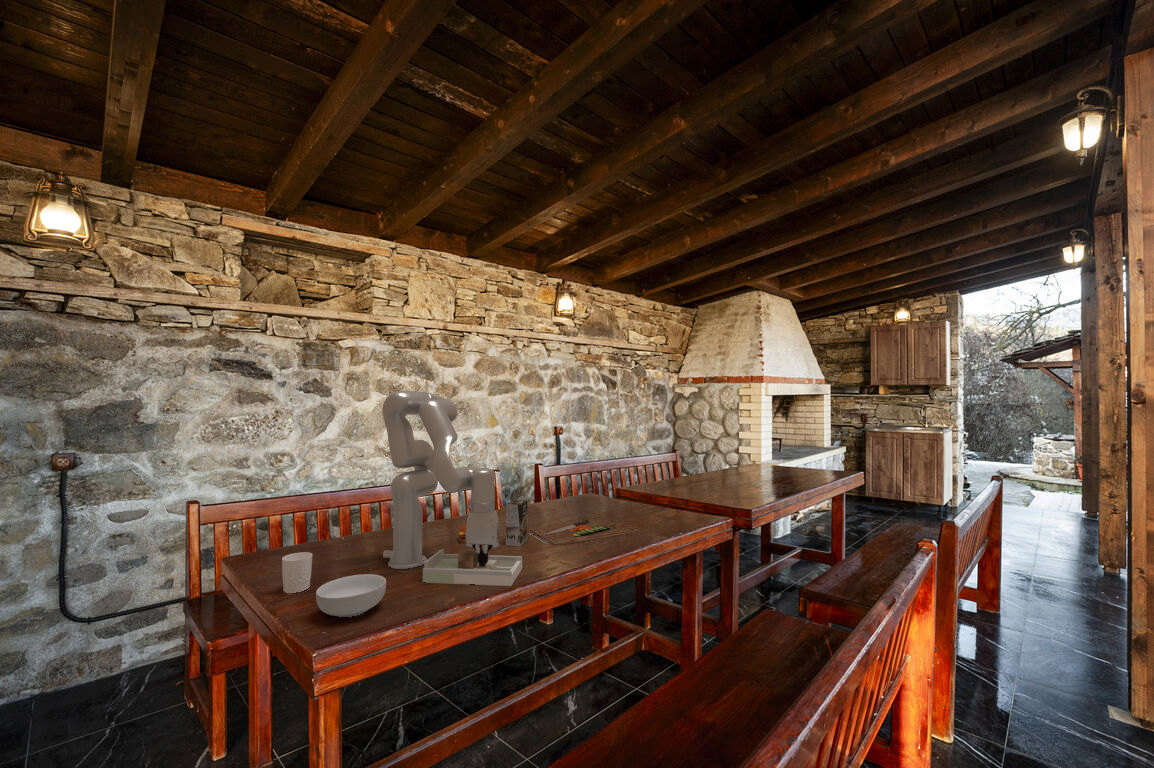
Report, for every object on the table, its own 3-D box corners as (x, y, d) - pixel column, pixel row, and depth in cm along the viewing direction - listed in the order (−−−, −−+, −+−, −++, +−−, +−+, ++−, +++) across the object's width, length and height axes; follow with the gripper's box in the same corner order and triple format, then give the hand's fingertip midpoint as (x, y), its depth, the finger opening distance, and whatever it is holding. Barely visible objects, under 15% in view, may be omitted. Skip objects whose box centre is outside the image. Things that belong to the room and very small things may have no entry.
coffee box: (521, 546, 184) (521, 504, 185) (505, 545, 185) (505, 504, 186) (528, 540, 193) (528, 500, 194) (513, 539, 194) (513, 499, 195)
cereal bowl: (372, 593, 139) (373, 569, 139) (395, 611, 127) (396, 584, 127) (307, 611, 127) (308, 584, 127) (326, 632, 115) (326, 603, 115)
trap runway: (422, 582, 147) (422, 563, 147) (441, 566, 162) (442, 548, 162) (510, 586, 144) (510, 566, 144) (522, 569, 159) (522, 550, 159)
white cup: (289, 597, 136) (290, 562, 137) (275, 592, 140) (276, 557, 141) (317, 588, 143) (317, 554, 143) (303, 583, 147) (303, 550, 147)
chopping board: (550, 549, 182) (550, 541, 183) (524, 532, 206) (524, 525, 206) (645, 533, 204) (644, 526, 204) (611, 520, 227) (611, 513, 228)
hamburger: (459, 544, 187) (459, 527, 188) (458, 538, 196) (458, 522, 197) (483, 542, 190) (483, 525, 190) (481, 536, 199) (481, 520, 200)
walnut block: (457, 568, 151) (457, 555, 151) (463, 563, 156) (463, 550, 156) (473, 568, 150) (473, 556, 151) (478, 563, 155) (478, 551, 156)
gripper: (456, 509, 151) (456, 568, 150) (502, 510, 149) (502, 569, 148) (464, 504, 158) (464, 560, 157) (508, 505, 156) (508, 561, 156)
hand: (482, 564), depth 153 cm, fingers closed
